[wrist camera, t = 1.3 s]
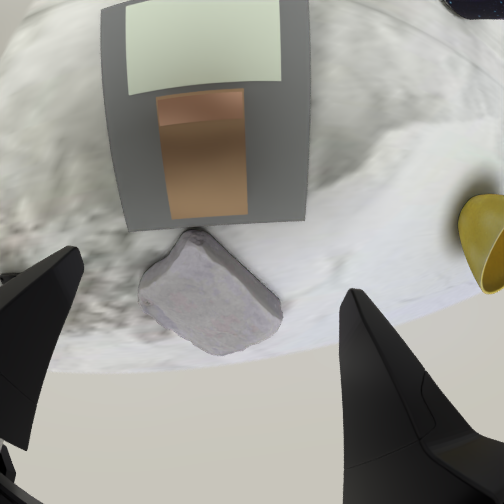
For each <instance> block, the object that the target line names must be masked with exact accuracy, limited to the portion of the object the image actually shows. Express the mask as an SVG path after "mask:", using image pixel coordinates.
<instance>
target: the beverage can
mask: <svg viewBox="0 0 504 504" xmlns="http://www.w3.org/2000/svg"><path fill="white" fill-rule="evenodd" d="M444 1H445V2H446V4H447V5H448V6H449V7H451V8H452V9H453V10H454V11H455V12H457V13H458V14H459V15H460V16H462V17H464V18H466V19H470V20H473V19H500V20H504V0H444Z"/></svg>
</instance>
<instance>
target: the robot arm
mask: <svg viewBox="0 0 504 504" xmlns="http://www.w3.org/2000/svg"><path fill="white" fill-rule="evenodd" d="M83 272H84V263H83V260H82V257H81V254H80V251H79V249H78V248H77V247H74V246H66V247H64V248H62V249H61V250H59V251H57V252H55V253H54V254H52V255H50V256H49V257H47V258H45V259H43V260H42V261H40V262H38V263H37V264H35V265H33V266H32V267H30V268H29V269H27V270H25V271H24V272H22V273H13V274H1V275H0V280H1V282H2V284H3V285H2V286H1V287H0V504H43V503H41V502H40V501H38V500H37V499H35V498H34V497H32V496H31V495H29V494H28V493H27V492H25V491H24V490H22V489H21V488H19V487H18V486H17V485H15V484H14V481H15V476H16V472H15V469H14V466H13V464H12V461H11V458H10V456H9V453H8V450H7V447H6V446H5V445H4V444H3V441H4V440H5V441H7V442H9V443H10V444H12V445H14V446H17V447H18V448H21V449H23V450H25V451H27V449H28V445H29V439H30V434H31V429H32V424H33V420H34V415H35V411H36V407H37V403H38V399H39V395H40V392H41V388H42V385H43V381H44V378H45V375H46V372H47V369H48V366H49V363H50V360H51V357H52V354H53V351H54V349H55V346H56V343H57V340H58V338H59V335H60V333H61V330H62V328H63V325H64V323H65V320H66V318H67V316H68V313H69V311H70V308H71V306H72V303H73V300H74V297H75V294H76V291H77V288H78V286H79V283H80V280H81V277H82V275H83ZM339 361H340V374H341V388H342V401H343V402H342V405H343V427H344V428H343V429H344V484H343V504H504V443H503V442H500V441H497V440H493V439H490V438H487V437H484V436H482V435H480V434H479V433H477V432H476V431H475V430H473V429H472V428H471V427H470V425H469V424H468V423H467V422H466V421H465V419H464V418H463V417H462V416H461V414H460V413H459V412H458V411H457V410H456V408H455V407H454V406H453V405H452V404H451V402H450V401H449V400H448V399H447V397H446V396H445V395H444V394H443V392H442V391H441V390H440V389H439V387H438V386H437V385H436V383H435V382H434V381H433V379H432V378H431V376H430V375H429V374H428V372H427V371H425V368H424V367H423V366H422V364H421V363H420V362H419V360H418V359H417V358H416V356H415V355H414V354H413V353H412V351H411V350H410V348H409V347H408V346H407V344H406V343H405V342H404V340H403V339H402V338H401V337H400V335H399V334H398V333H397V332H396V330H395V329H394V328H393V326H392V325H391V324H390V323H389V321H388V320H387V319H386V318H385V316H384V315H383V314H382V313H381V312H380V310H379V309H378V308H377V307H376V305H375V304H374V303H373V302H372V301H371V299H370V298H369V297H368V296H367V295H366V293H365V292H364V291H363V290H361V289H355V288H350V289H349V290H348V292H347V294H346V296H345V298H344V300H343V302H342V304H341V306H340V311H339Z"/></svg>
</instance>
